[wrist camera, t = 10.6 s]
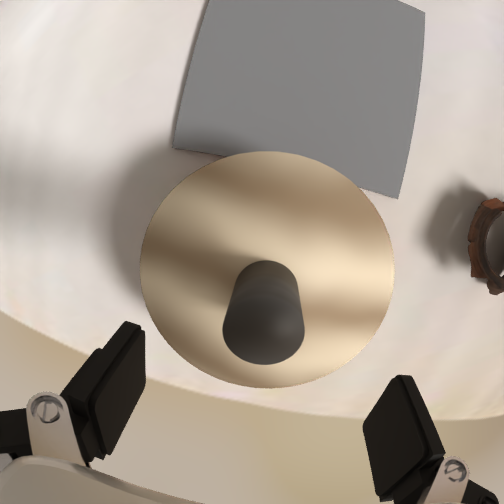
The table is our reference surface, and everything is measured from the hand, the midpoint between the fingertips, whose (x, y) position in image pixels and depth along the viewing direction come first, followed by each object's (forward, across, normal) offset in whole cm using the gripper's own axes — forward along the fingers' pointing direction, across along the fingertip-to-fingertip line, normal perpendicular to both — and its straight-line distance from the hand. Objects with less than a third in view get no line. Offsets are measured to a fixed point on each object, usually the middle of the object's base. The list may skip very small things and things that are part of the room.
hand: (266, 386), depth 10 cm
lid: (+10, 0, +1) cm, 10 cm away
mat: (+16, 0, -16) cm, 23 cm away
